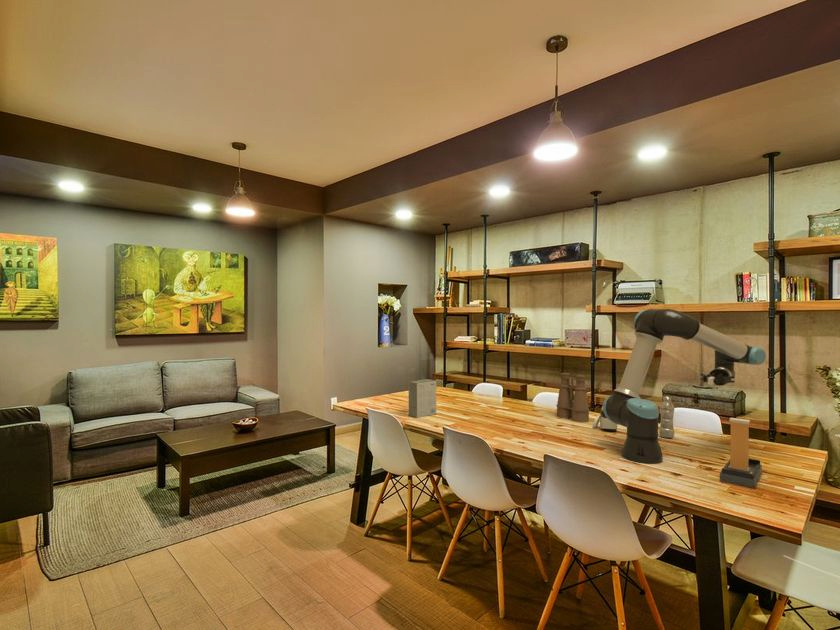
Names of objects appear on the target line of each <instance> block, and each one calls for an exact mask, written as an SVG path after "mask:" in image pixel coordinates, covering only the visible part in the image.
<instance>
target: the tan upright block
mask: <svg viewBox="0 0 840 630" xmlns="http://www.w3.org/2000/svg"><path fill="white" fill-rule="evenodd" d="M729 423H730V443H729V444H730V447H729V448H730V450H729V452H730V453H729V455H730V457H729V460H730V465H729V466H728V469H731V470H736V471H741V472H746V473H750V472H751V468H749V467H748V458H749V445H750V443H749V442H750V441H749V440H750V437H749V436H750V434H749V433H750V431H749V428H750V427H749V426H750V424H751V420H750V419H744V418H735V417H729Z"/></svg>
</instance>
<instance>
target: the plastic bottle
mask: <svg viewBox="0 0 840 630" xmlns="http://www.w3.org/2000/svg"><path fill="white" fill-rule="evenodd" d="M675 410H676V409H675V405H674V403H673V402H672V396H671V395H663V396H662V402H661V403H660V404H659V414H660V424H659V425H660V427H659V429H658V434H659V436H660V437H662V438H665V439H671V438H673V437H674V436H675V428H674V414H675Z"/></svg>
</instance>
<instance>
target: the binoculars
mask: <svg viewBox="0 0 840 630" xmlns="http://www.w3.org/2000/svg"><path fill="white" fill-rule="evenodd" d="M560 375H561V376H560V379H561V380H560V381H561V384H559V386H558V387H559V390H558V398H557V403H556V404H555V406H556V417H557V418H559V419H566V420H567V419H568V420H569V419H570V420H571V421H572V422H576V423H589V422H590V420H589V419H590V410H591V409H590V408H589V401H588V393H587V390H588V389H587V388H586V387H585V386H586V385H585V384H586V383H585V382H586V381H587V380H586V375H582V374H580V375H579V374H578V375H575V378H574V377H570V376H571V373H568V372H567V373H565V372H564V373H563V372H561V373H560ZM570 381H571V382H570ZM574 381H576V383H575V385H576V386H575V387H574Z"/></svg>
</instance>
